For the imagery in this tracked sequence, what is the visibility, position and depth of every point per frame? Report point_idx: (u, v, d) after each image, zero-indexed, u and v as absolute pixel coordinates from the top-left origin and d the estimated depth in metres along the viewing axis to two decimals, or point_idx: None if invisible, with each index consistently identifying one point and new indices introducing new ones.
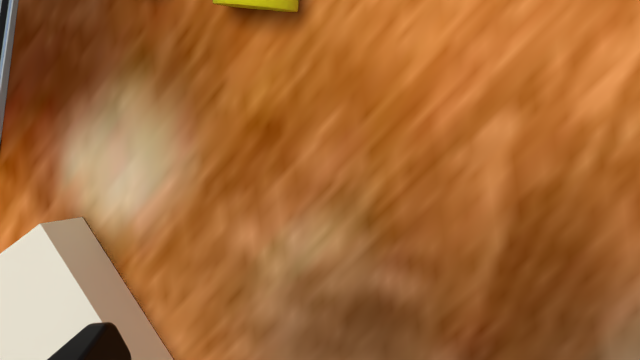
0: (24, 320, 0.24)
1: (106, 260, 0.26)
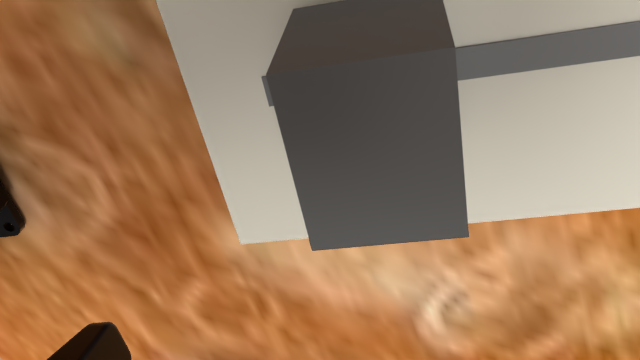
0: None
1: None
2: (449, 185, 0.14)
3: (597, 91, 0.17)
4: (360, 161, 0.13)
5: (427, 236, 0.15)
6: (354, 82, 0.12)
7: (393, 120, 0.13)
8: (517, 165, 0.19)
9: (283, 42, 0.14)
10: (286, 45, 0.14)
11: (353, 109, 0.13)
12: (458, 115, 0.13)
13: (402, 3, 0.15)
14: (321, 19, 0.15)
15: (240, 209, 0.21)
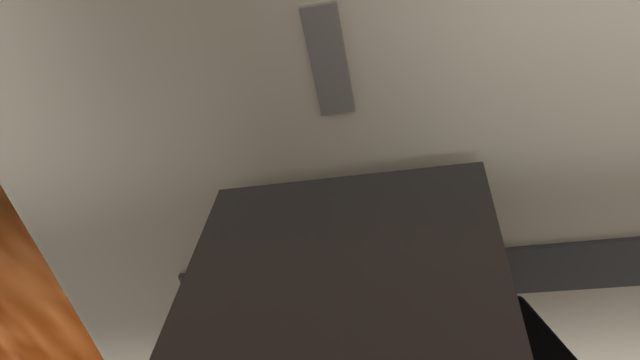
0: None
1: None
2: None
3: None
4: None
5: None
6: None
7: None
8: None
9: (176, 314, 0.07)
10: (178, 331, 0.07)
11: None
12: None
13: (417, 212, 0.08)
14: (262, 242, 0.08)
15: None
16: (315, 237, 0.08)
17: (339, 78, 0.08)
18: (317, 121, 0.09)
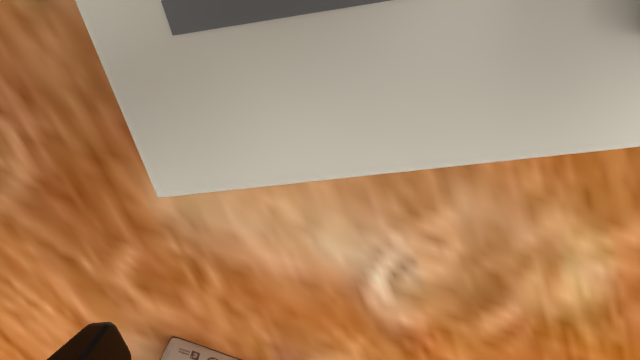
0: None
1: None
2: None
3: (531, 15, 0.15)
4: None
5: None
6: None
7: None
8: (449, 103, 0.17)
9: None
10: None
11: None
12: None
13: None
14: None
15: (153, 157, 0.19)
16: None
17: None
18: None
